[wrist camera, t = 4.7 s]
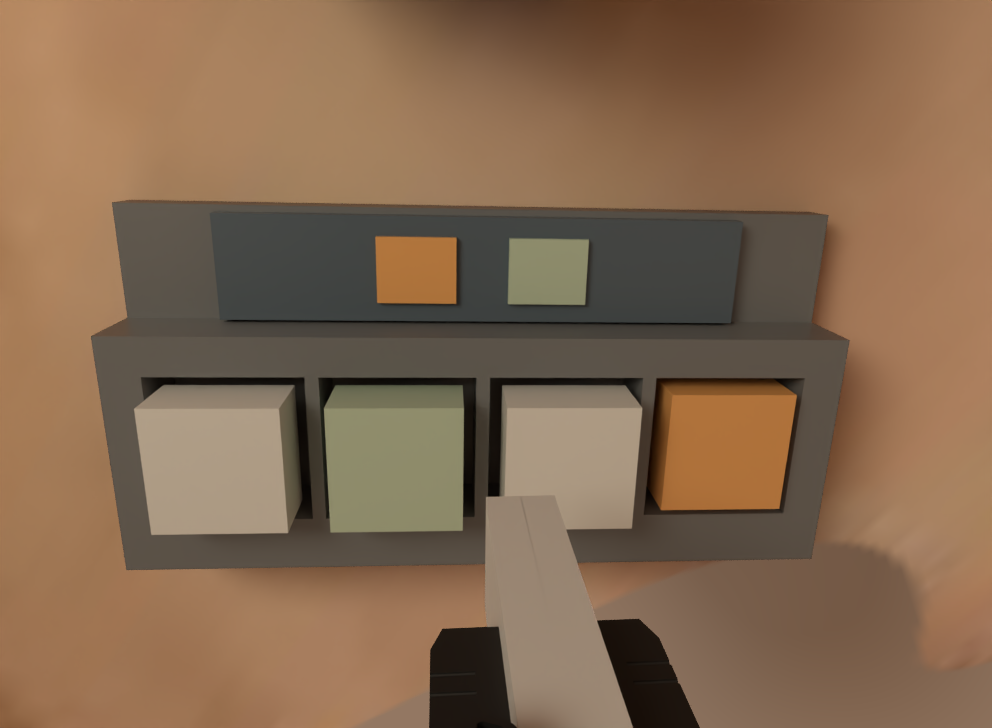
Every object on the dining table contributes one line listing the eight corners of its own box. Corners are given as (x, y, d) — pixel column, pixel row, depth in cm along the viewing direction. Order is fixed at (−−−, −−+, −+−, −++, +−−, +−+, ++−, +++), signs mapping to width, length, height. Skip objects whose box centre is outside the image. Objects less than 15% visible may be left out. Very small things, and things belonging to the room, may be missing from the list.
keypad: (169, 514, 25) (126, 569, 22) (129, 199, 22) (71, 208, 18) (765, 507, 26) (811, 558, 23) (809, 212, 23) (870, 222, 20)
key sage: (341, 499, 22) (330, 532, 20) (335, 385, 21) (323, 408, 19) (461, 498, 22) (462, 530, 20) (462, 385, 21) (463, 408, 19)
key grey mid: (499, 497, 22) (503, 529, 20) (502, 385, 21) (507, 408, 19) (616, 496, 22) (631, 528, 20) (625, 385, 21) (642, 407, 19)
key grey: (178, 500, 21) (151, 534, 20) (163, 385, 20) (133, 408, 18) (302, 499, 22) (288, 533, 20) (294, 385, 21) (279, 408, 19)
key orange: (643, 481, 24) (661, 510, 22) (653, 374, 22) (672, 395, 20) (752, 480, 24) (779, 508, 22) (767, 374, 23) (797, 395, 21)
